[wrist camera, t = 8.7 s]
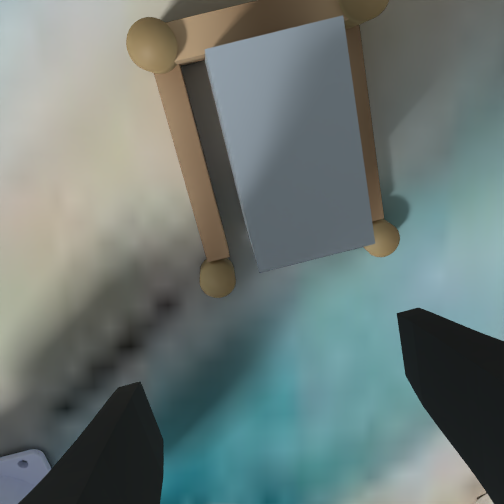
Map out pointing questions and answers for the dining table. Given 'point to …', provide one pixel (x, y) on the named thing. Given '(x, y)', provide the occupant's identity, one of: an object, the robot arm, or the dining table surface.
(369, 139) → the wooden frame
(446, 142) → the dining table surface
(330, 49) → the panel block
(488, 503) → the condiment
